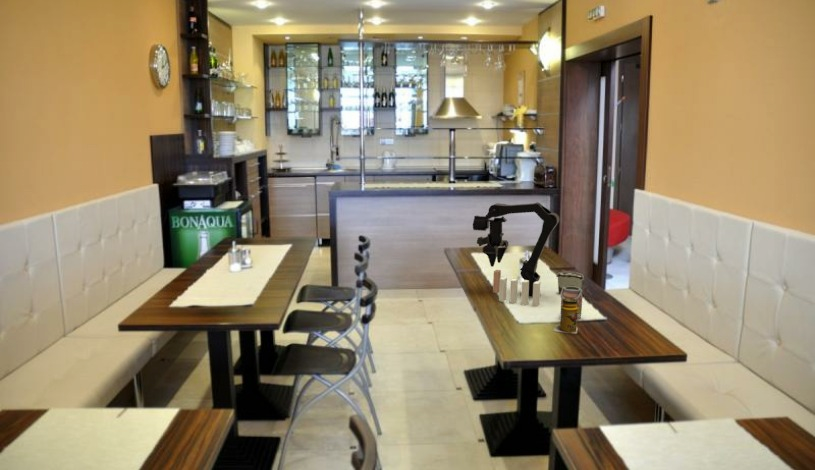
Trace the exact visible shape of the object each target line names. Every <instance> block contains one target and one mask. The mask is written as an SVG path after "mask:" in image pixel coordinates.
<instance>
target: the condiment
mask: <svg viewBox="0 0 815 470" xmlns="http://www.w3.org/2000/svg"><path fill="white" fill-rule="evenodd" d="M562 304H563V305H562V307H561V306H560V313H561V314H560V324H555V325H554V328H553V332H556V333H557V332H558V333H565V334H566V333H567V334H578V326H577V325H578V319H577V311H578V308H577V300H576V299H572V298H565V299H563V303H562Z"/></svg>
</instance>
